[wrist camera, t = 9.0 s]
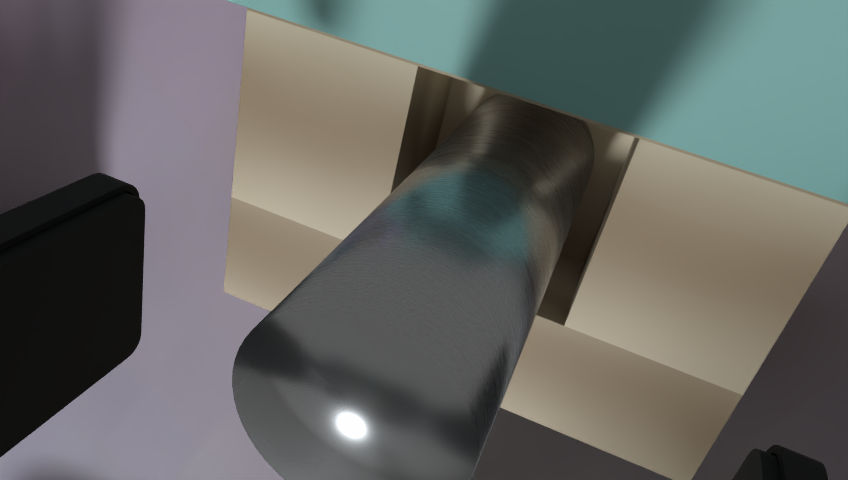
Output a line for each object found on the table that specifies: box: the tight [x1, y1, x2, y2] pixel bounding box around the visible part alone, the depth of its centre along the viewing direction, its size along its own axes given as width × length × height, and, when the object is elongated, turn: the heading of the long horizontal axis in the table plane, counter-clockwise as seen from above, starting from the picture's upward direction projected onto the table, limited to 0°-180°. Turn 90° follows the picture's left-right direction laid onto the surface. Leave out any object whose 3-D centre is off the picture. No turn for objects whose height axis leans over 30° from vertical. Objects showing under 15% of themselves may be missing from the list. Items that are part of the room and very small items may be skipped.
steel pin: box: [232, 93, 594, 480], centre depth 13 cm, size 3×3×10 cm
